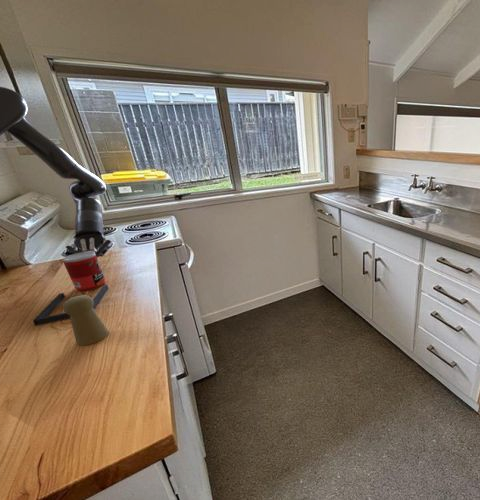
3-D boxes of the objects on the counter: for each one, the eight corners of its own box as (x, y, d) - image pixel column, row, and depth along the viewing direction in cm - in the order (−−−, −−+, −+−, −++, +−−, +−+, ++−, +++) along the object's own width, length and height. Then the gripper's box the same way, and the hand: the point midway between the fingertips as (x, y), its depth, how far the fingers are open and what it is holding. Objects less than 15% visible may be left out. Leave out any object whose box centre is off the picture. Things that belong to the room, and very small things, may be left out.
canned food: (103, 287, 93) (91, 257, 89) (71, 294, 90) (57, 262, 86) (109, 278, 100) (97, 249, 96) (80, 284, 96) (67, 254, 92)
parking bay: (34, 325, 74) (32, 320, 74) (61, 297, 88) (59, 293, 87) (92, 313, 79) (90, 308, 78) (108, 288, 93) (107, 284, 92)
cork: (85, 348, 65) (67, 307, 61) (70, 342, 67) (51, 303, 63) (114, 332, 70) (98, 294, 66) (99, 327, 72) (83, 290, 68)
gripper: (59, 222, 97) (59, 268, 91) (107, 216, 102) (110, 259, 96) (71, 232, 103) (72, 276, 97) (116, 227, 108) (119, 267, 103)
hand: (91, 268), depth 97 cm, fingers closed
